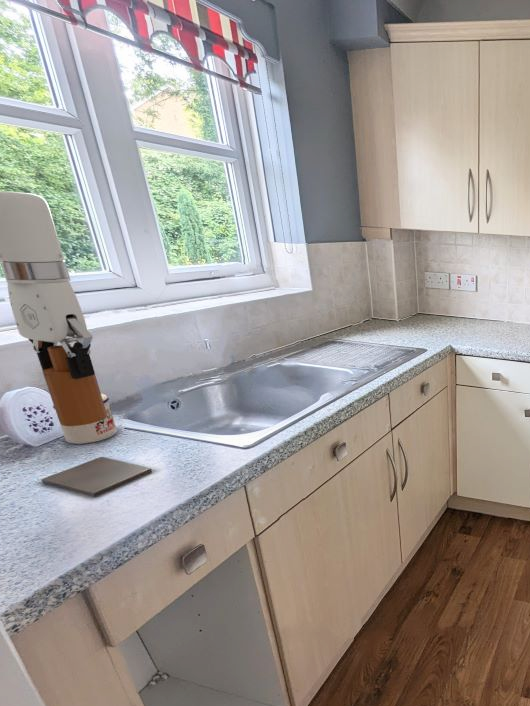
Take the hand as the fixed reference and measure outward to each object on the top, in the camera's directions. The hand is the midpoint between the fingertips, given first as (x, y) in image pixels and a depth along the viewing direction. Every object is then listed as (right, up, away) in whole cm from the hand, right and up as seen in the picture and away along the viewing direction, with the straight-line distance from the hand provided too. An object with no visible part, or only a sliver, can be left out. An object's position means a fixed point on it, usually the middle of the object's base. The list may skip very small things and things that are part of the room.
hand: (69, 373), depth 82 cm
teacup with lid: (-19, -13, +24) cm, 33 cm away
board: (-1, -20, +7) cm, 21 cm away
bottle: (0, -9, +3) cm, 9 cm away
